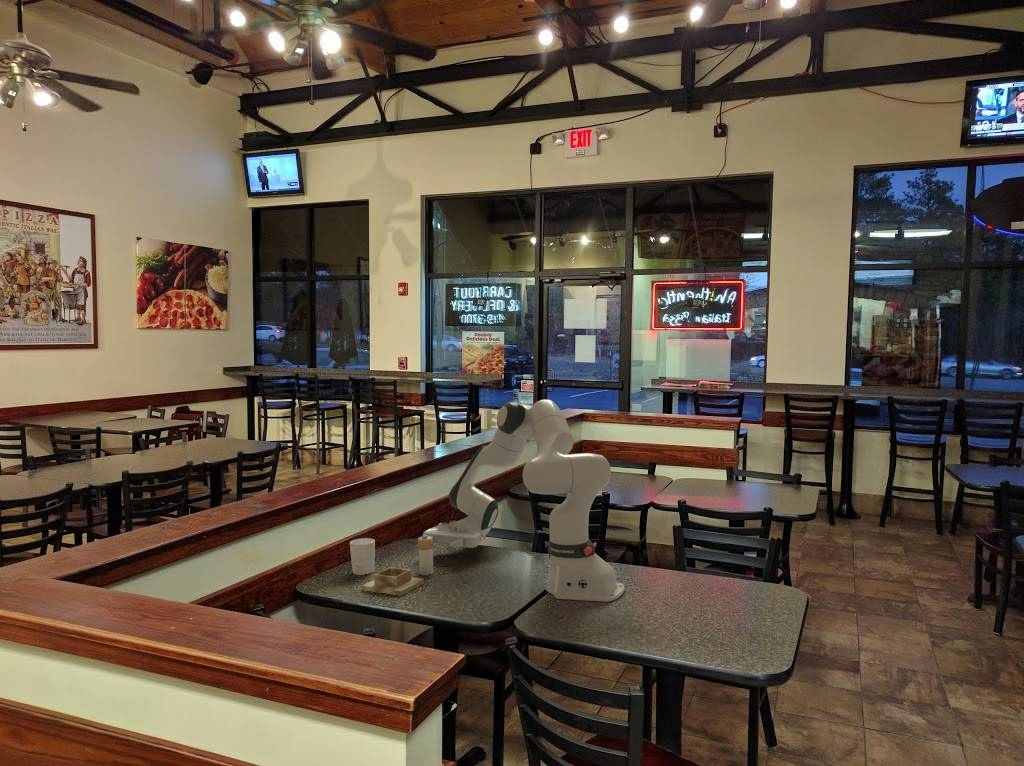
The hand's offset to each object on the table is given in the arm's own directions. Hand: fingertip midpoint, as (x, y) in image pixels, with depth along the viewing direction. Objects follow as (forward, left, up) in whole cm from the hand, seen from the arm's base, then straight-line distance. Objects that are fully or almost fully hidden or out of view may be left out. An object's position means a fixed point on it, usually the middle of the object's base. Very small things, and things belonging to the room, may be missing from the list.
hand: (439, 543), depth 233 cm
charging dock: (+2, +24, -7) cm, 25 cm away
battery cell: (0, +9, -7) cm, 11 cm away
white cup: (+20, +15, -7) cm, 26 cm away
